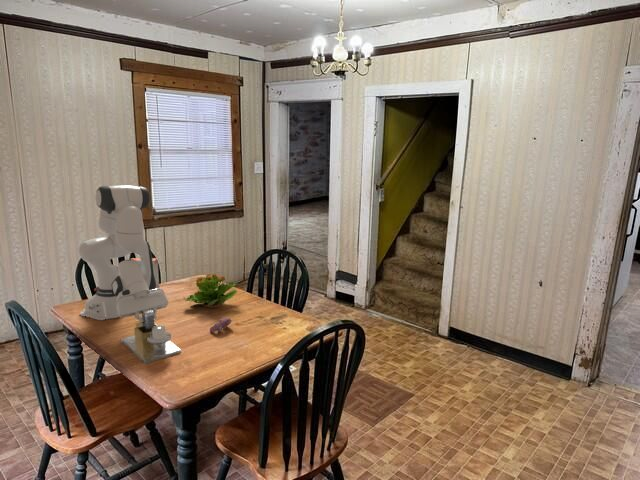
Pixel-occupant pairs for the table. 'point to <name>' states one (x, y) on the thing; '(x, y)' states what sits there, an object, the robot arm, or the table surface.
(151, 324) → the tall grey square post
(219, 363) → the table surface
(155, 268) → the cracker box
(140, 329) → the silver and gold device
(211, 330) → the video game controller
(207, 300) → the potted flower
